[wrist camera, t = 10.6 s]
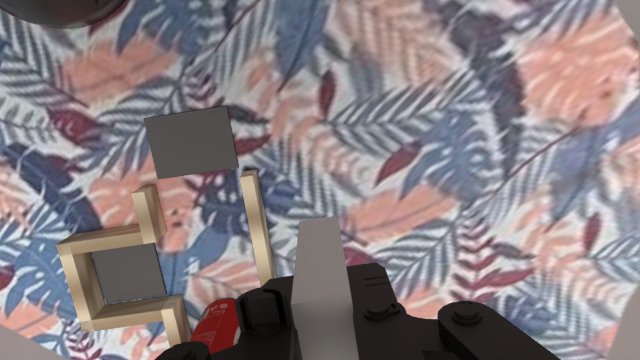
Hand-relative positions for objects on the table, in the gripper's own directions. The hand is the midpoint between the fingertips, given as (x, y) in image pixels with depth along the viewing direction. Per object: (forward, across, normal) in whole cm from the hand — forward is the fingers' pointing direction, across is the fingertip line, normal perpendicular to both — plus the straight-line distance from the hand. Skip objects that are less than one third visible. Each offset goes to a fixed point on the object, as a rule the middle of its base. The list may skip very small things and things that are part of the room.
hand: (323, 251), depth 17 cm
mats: (+26, -16, -4) cm, 31 cm away
